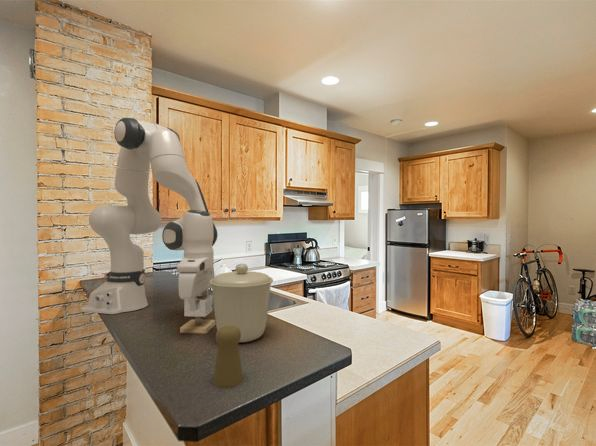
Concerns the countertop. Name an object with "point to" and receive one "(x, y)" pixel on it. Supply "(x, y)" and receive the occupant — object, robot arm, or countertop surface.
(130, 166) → the robot arm
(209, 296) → the white hollow square block
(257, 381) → the countertop surface
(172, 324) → the countertop surface
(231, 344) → the olive pepper mill
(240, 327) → the canister
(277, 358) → the countertop surface
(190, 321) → the base plate
